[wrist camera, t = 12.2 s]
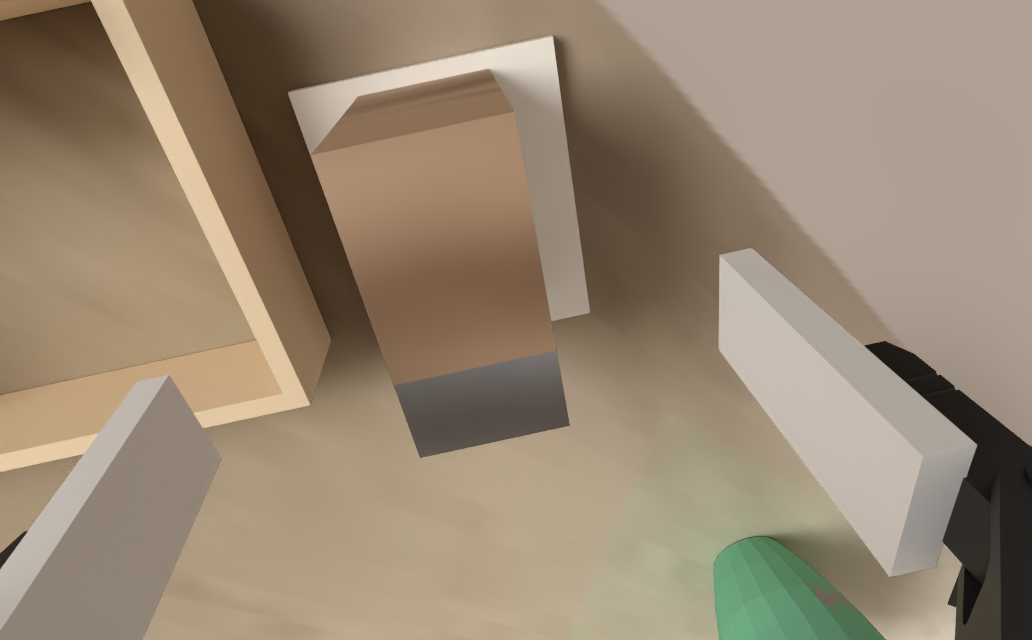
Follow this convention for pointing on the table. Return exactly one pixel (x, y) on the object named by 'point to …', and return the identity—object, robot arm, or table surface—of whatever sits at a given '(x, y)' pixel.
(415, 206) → the walnut block
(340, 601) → the table surface
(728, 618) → the mug
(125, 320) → the table surface
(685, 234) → the table surface
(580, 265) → the plate
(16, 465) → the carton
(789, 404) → the robot arm
